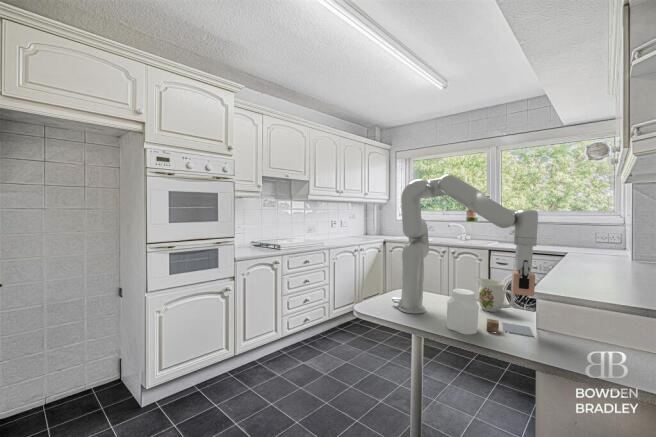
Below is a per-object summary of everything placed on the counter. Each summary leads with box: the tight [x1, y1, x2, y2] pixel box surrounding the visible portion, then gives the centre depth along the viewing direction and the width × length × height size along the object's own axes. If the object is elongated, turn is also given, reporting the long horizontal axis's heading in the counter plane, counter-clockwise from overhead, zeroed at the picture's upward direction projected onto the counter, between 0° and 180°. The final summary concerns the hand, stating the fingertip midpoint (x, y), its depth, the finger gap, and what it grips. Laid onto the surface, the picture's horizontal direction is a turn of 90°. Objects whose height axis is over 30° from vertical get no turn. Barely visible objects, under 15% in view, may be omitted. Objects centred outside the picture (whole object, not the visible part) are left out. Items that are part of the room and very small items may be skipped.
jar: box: [445, 288, 480, 335], centre depth 126 cm, size 12×10×15 cm
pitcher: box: [474, 277, 515, 313], centre depth 149 cm, size 11×18×14 cm, turn 40°
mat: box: [501, 322, 534, 338], centre depth 127 cm, size 10×10×1 cm
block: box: [486, 318, 500, 334], centre depth 125 cm, size 4×4×4 cm
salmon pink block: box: [510, 269, 536, 298], centre depth 125 cm, size 7×7×8 cm
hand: (522, 285), depth 125 cm, fingers closed on salmon pink block, 7 cm apart
